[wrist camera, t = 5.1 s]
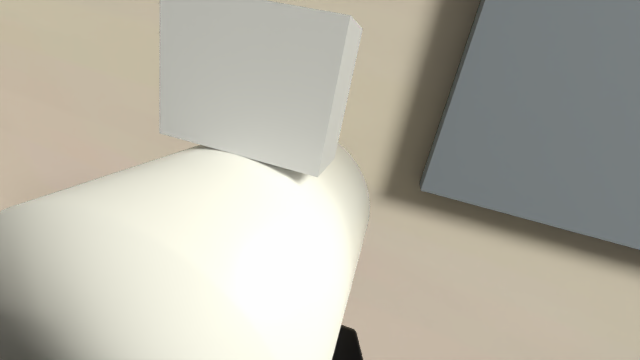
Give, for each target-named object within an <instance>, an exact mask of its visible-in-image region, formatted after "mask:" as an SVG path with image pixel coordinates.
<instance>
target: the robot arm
mask: <svg viewBox="0 0 640 360" xmlns="http://www.w3.org/2000/svg"><path fill="white" fill-rule="evenodd" d="M332 360H363V357H362V353H361V349H360V345H359V341H358V337H357V333H356V331H355V330H354V329H352V328H349V327H346V326H343V325H341V327H340V331H339V335H338V339H337V342H336V346H335V350H334V354H333V357H332Z"/></svg>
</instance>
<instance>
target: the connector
mask: <svg viewBox="0 0 640 360" xmlns="http://www.w3.org/2000/svg"><path fill="white" fill-rule="evenodd" d="M362 30H363V28H362V27H361V26H360V25H359V24H358V23H357V22H356V21H355V20H354V19H353V17H352V16H351V15H346V14H340V13H335V12H329V11H323V10H318V9H312V8H306V7H301V6H295V5H289V4H284V3H278V2H272V1H267V0H160V134H164V135H168V136H171V137H175V138H178V139H182V140H186V141H189V142H193V143H196V144H200V145H198V146H195V147H192V148H189V149H186V150H183V151H180V152H177V153H174V154H171V155H168V156H165V157H162V158H159V159H155V160H152V161H149V162H146V163H143V164H140V165H137V166H134V167H131V168H128V169H125V170H122V171H119V172H116V173H113V174H110V175H107V176H103V177H100V178H97V179H94V180H91V181H88V182H85V183H82V184H79V185H76V186H73V187H70V188H67V189H64V190H61V191H58V192H55V193H51V194H48V195H45V196H42V197H39V198H36V199H33V200H30V201H27V202H24V203H21V204H18V205H15V206H12V207H9V208H6V209H4V210H2V211H0V360H332V357H333V354H334V350H335V346H336V342H337V339H338V335H339V331H340V327H341V324H342V320H343V316H344V312H345V309H346V305H347V301H348V297H349V293H350V290H351V286H352V282H353V278H354V275H355V271H356V267H357V263H358V260H359V256H360V252H361V248H362V245H363V241H364V237H365V233H366V229H367V226H368V221H369V215H370V200H369V193H368V188H367V184H366V182H365V179H364V176H363V174H362V172H361V170H360V168H359V166H358V164H357V163H356V161H355V160H354V159H353V157H352V156H351V154H350V153H349V152H348V151H347V150H346V149H345V148H344V147H343V146H342V145H341V144H340V143H338V140H339V135H340V131H341V126H342V121H343V117H344V112H345V108H346V103H347V99H348V94H349V89H350V85H351V80H352V76H353V71H354V67H355V62H356V57H357V53H358V48H359V44H360V39H361V35H362Z"/></svg>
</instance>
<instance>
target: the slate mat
mask: <svg viewBox="0 0 640 360" xmlns="http://www.w3.org/2000/svg"><path fill="white" fill-rule="evenodd" d="M420 189H421V191H424V192H428V193H432V194H435V195H439V196H443V197H446V198H450V199H454V200H458V201H461V202H465V203H469V204H472V205H476V206H480V207H483V208H487V209H491V210H494V211H498V212H502V213H506V214H509V215H513V216H517V217H520V218H524V219H528V220H531V221H535V222H539V223H542V224H546V225H550V226H554V227H557V228H561V229H565V230H568V231H572V232H576V233H579V234H583V235H587V236H590V237H594V238H598V239H602V240H605V241H609V242H613V243H616V244H620V245H624V246H627V247H631V248H635V249H638V250H640V0H481V2H480V5H479V8H478V11H477V14H476V17H475V20H474V23H473V26H472V28H471V31H470V34H469V37H468V40H467V43H466V46H465V49H464V52H463V55H462V58H461V61H460V64H459V67H458V70H457V73H456V76H455V79H454V82H453V85H452V88H451V91H450V94H449V97H448V100H447V103H446V106H445V109H444V112H443V115H442V118H441V121H440V124H439V127H438V130H437V133H436V136H435V139H434V142H433V145H432V148H431V151H430V154H429V157H428V160H427V163H426V166H425V169H424V172H423V175H422V178H421V181H420Z"/></svg>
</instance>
